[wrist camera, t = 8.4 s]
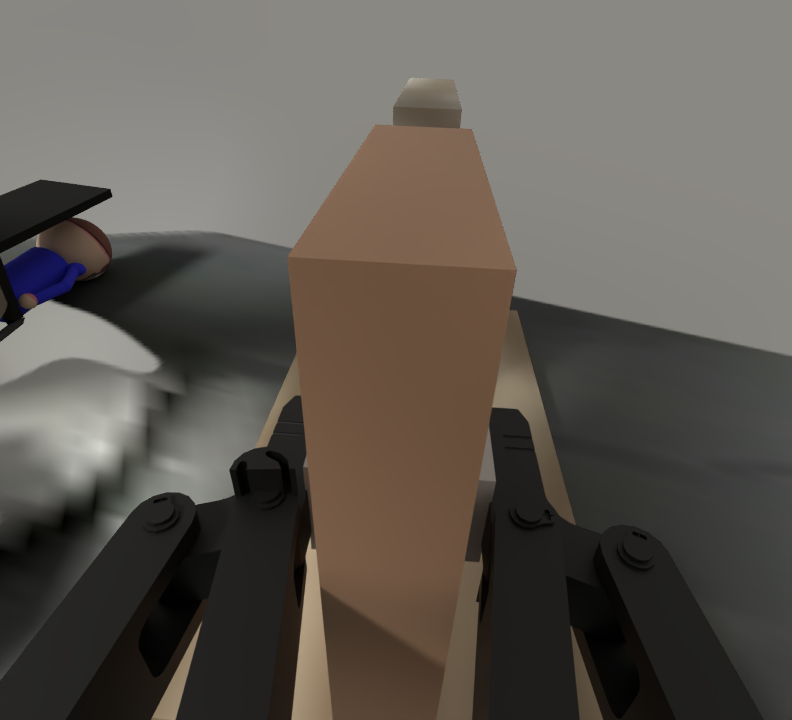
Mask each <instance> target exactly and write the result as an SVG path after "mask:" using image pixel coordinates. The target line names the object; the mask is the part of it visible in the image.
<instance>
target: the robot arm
mask: <svg viewBox="0 0 792 720" xmlns="http://www.w3.org/2000/svg"><path fill="white" fill-rule="evenodd" d="M230 474H231V479H232V483H233V488H234V492H235V495H234V496H231V497H229V498H226V499H223V500H219V501H214V502H209V503H203V504H198V505H195V503H194V502H193V501H192V500H191V498H190V497H189V496H187V495H184V494H181V493H170V492H167V493H163V494H159V495H156V496H153V497H151V498H149V499H147V500H146V501H144V502H142V503H141V504H140V505H139V506H138V507H137V508H136V509H134V510H133V511H132V512H131V514H130V515H129V516H128V518H127V519H126V520H125V521H124V523H123V524H122V525H121V527H120V528H119V529H118V530H117V532H116V533H115V534H114V536H113V537H112V538H111V539H110V541H109V542H108V543H107V545H106V546H105V547H104V548H103V550H102V551H101V552H100V554H99V555H98V556H97V557H96V559H95V560H94V561H93V562H92V564H91V565H90V566H89V568H88V569H87V570H86V571H85V573H84V574H83V575H82V577H81V578H80V579H79V580H78V582H77V583H76V584H75V586H74V587H73V588H72V589H71V591H70V592H69V593H68V595H67V596H66V597H65V598H64V600H63V601H62V602H61V604H60V605H59V606H58V607H57V609H56V610H55V611H54V613H53V614H52V615H51V616H50V618H49V619H48V620H47V622H46V623H45V624H44V625H43V627H42V628H41V629H40V631H39V632H38V633H37V634H36V636H35V637H34V638H33V640H32V641H31V642H30V643H29V645H28V646H27V647H26V648H25V650H24V651H23V652H22V654H21V655H20V656H19V657H18V659H17V660H16V661H15V663H14V664H13V665H12V666H11V668H10V669H9V670H8V672H7V673H6V674H5V675H4V677H3V678H2V679H1V681H0V720H151V719H152V717H153V715H154V713H155V711H156V709H157V707H158V705H159V703H160V701H161V699H162V697H163V695H164V694H165V692H166V690H167V688H168V686H169V684H170V682H171V680H172V678H173V676H174V674H175V672H176V670H177V668H178V666H179V665H180V663H181V661H182V659H183V657H184V655H185V653H186V651H187V649H188V647H189V645H190V643H191V641H192V639H193V637H194V635H195V634H196V632H197V630H198V628H199V626H200V624H201V622H202V624H201V627H200V631H199V635H198V638H197V642H196V646H195V649H194V653H193V657H192V661H191V664H190V668H189V672H188V675H187V679H186V683H185V686H184V690H183V694H182V698H181V701H180V705H179V709H178V712H177V716H176V720H292V710H293V701H294V691H295V681H296V672H297V662H298V652H299V643H300V633H301V623H302V614H303V604H304V594H305V585H306V575H307V564H306V553H307V549H308V545H309V541H310V539H311V549H316V543H315V533H314V523H313V513H312V502H311V492H310V482H309V472H308V462H307V451H306V441H305V431H304V421H303V411H302V400H301V396H299V395H295V396H294V397H293V398H292V399H291V400H290V401H289V402H288V403H287V404H286V405H284V406H283V408H282V411H281V413H280V416H279V418H278V422H277V423H276V425H275V428H274V430H273V435H271V438H270V440H269V443H268V445H267V447H260V448H255V449H252V450H250V451H248V452H245V453H243V454H242V455H241V456H240V457H239V458H237V459H236V460H235V461H234V463H233V465H232V466H231V468H230ZM481 551H482V562H483V571H482V576H481V580H480V585H479V589H478V594H477V599H476V602H479V608H478V625H477V643H476V660H475V678H474V695H473V712H472V720H580V717H579V707H578V697H577V687H576V676H575V666H574V656H573V646H572V636H571V626H572V629H573V632H574V635H575V638H576V641H577V644H578V647H579V650H580V653H581V656H582V658H583V661H584V664H585V667H586V670H587V673H588V676H589V679H590V682H591V685H592V688H593V691H594V694H595V697H596V700H597V703H598V706H599V709H600V712H601V715H602V718H603V720H764V719H763V718H762V716H761V714H760V712H759V711H758V709H757V707H756V705H755V703H754V702H753V700H752V698H751V696H750V695H749V693H748V691H747V689H746V688H745V686H744V684H743V682H742V681H741V679H740V677H739V675H738V674H737V672H736V670H735V668H734V667H733V665H732V663H731V661H730V660H729V658H728V656H727V654H726V653H725V651H724V649H723V647H722V646H721V644H720V642H719V640H718V639H717V637H716V635H715V633H714V632H713V630H712V628H711V626H710V625H709V623H708V621H707V619H706V617H705V616H704V614H703V612H702V610H701V609H700V607H699V605H698V603H697V602H696V600H695V598H694V596H693V595H692V593H691V591H690V589H689V588H688V586H687V584H686V582H685V581H684V579H683V577H682V575H681V574H680V572H679V570H678V568H677V567H676V565H675V563H674V561H673V560H672V558H671V556H670V554H669V553H668V551H667V550H666V549H665V547H664V546H663V545H662V544H661V542H660V541H659V540H657V539H656V538H655V537H653V536H652V535H651V534H649V533H648V532H646V531H643V530H641V529H639V528H636V527H633V526H626V525H618V526H613V527H610V528H609V529H607V530H606V531H605V532H604V533H603V534H602V535H601V534H599V533H596V532H593V531H590V530H587V529H584V528H581V527H579V526H576V525H574V524H572V523H570V522H568V521H566V520H565V519H563V518H562V517H560V516H559V515H558V513H557V511H556V510H555V509H554V507H553V506H552V505H551V504H550V503H549V502H548V500H547V498H546V495H545V491H544V486H543V482H542V478H541V473H540V469H539V465H538V460H537V456H536V452H535V447H534V443H533V440H532V434H531V430H530V426H529V422H528V421H527V420H526V418H525V417H524V416H523V415H522V413H521V412H520V411H519V410H518V409H510V408H496V407H492V410H491V416H490V422H489V427H488V433H487V438H486V444H485V449H484V455H483V461H482V466H481V472H480V477H479V483H478V489H477V494H476V500H475V505H474V511H473V516H472V522H471V528H470V533H469V539H468V544H467V550H466V556H465V561H468V562H479V561H480V556H481Z"/></svg>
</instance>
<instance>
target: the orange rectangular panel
mask: <svg viewBox="0 0 792 720" xmlns="http://www.w3.org/2000/svg"><path fill="white" fill-rule="evenodd" d="M287 258H288V268H289V278H290V288H291V298H292V309H293V319H294V329H295V339H296V349H297V360H298V370H299V380H300V390H301V400H302V411H303V421H304V431H305V441H306V451H307V462H308V472H309V482H310V492H311V502H312V513H313V523H314V533H315V543H316V553H317V564H318V574H319V584H320V594H321V604H322V615H323V625H324V635H325V645H326V655H327V666H328V676H329V686H330V696H331V706H332V717H333V720H436V717H437V712H438V706H439V701H440V695H441V689H442V684H443V678H444V673H445V667H446V662H447V656H448V650H449V645H450V639H451V634H452V628H453V622H454V617H455V611H456V606H457V600H458V595H459V589H460V583H461V578H462V572H463V567H464V561H465V556H466V550H467V544H468V539H469V533H470V528H471V522H472V516H473V511H474V505H475V500H476V494H477V489H478V483H479V477H480V472H481V466H482V461H483V455H484V449H485V444H486V438H487V433H488V427H489V422H490V416H491V410H492V405H493V399H494V394H495V388H496V382H497V377H498V371H499V366H500V360H501V355H502V349H503V343H504V338H505V332H506V327H507V321H508V315H509V310H510V304H511V299H512V293H513V288H514V282H515V276H516V271H517V270H516V267H515V263H514V260H513V257H512V254H511V251H510V248H509V245H508V241H507V238H506V235H505V232H504V229H503V226H502V222H501V220H500V217H499V213H498V210H497V207H496V204H495V200H494V197H493V195H492V191H491V188H490V185H489V182H488V178H487V175H486V172H485V169H484V166H483V163H482V160H481V156H480V153H479V150H478V147H477V144H476V141H475V138H474V134H473V131H472V129H459V128H436V127H414V126H392V125H375V126H374V128H373V129H372V130H371V132H370V134H369V135H368V137H367V138H366V140H365V141H364V143H363V144H362V146H361V147H360V149H359V150H358V152H357V153H356V155H355V156H354V158H353V159H352V161H351V162H350V164H349V165H348V167H347V168H346V170H345V171H344V173H343V174H342V176H341V177H340V179H339V180H338V182H337V183H336V185H335V186H334V188H333V189H332V191H331V192H330V194H329V195H328V197H327V198H326V200H325V201H324V203H323V204H322V206H321V207H320V209H319V210H318V212H317V213H316V215H315V216H314V218H313V219H312V221H311V222H310V224H309V225H308V227H307V228H306V230H305V231H304V233H303V234H302V236H301V237H300V239H299V240H298V242H297V243H296V245H295V246H294V248H293V249H292V251H291V252H290V254H289V255H288V257H287Z"/></svg>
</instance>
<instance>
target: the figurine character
mask: <svg viewBox="0 0 792 720" xmlns="http://www.w3.org/2000/svg"><path fill="white" fill-rule="evenodd" d="M111 197H112V193H111V190H110V189H106V188H98V187H92V186H83V185H77V184H69V183H61V182H55V181H47V180H39V181H36V182H34V183H31V184H29V185H26V186H23V187H21V188H18V189H16V190H13V191H10V192H8V193H6V194H3V195H1V196H0V253H2V252H4V251H6V250H8V249H10V248H12V247H14V246H16V245H18V244H20V243H22V242H24V241H26V240H28V239H30V238H32V237H34V236H36V235H38V234H39V235H38V238H37V242H36V247H33V248H31V249H29V250H28V251H26V252H25V253H23V254H21V255H20V256H18V257H17V258H15V259H14V260H12V261H10V262H9V263H7V264H6V265H3V263H2V260H1V258H0V321H1V322H6V323H7V324H8V325H7V326H6V327H5V328H3V329H2V330H1V331H0V341H2V340H3V339H4V338H6V337H7V336H8V335H10V334H11V333H12V332H13V331H15V329H17V328H18V327H20V326H21V325H22V324H23V322H24V319H25V318H22V317H23V315H24V314H25V313H26V312H28V311H29V310H31V309H32V308H34V307H36V306H37V305H39V304H42V303H44V302H46V301H48V300H50V299H53V298H55V297H57V296H59V295H61V294H64V293H66V292H69V291H70V290H71V288H72V286H73V284H74V282H75V281H87V280H91V279H94V278H96V277H98V276H100V275H101V274H102V273H103V272H104V271H105V270H106V269H107V268H108V266H109V264H110V262H111V258H112V249H111V245H110V242H109V240H108V238H107V236H106V235H105V234H104V233H103V232H102V230H101V229H99V228H98V227H97V226H95V225H94V224H92V223H90V222H88V221H86V220H83V219H79V218H73V216H75V215H77V214H79V213H81V212H83V211H85V210H87V209H89V208H91V207H93V206H95V205H97V204H99V203H101V202H103V201H105V200H107V199H109V198H111Z"/></svg>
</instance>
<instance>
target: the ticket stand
mask: <svg viewBox="0 0 792 720" xmlns="http://www.w3.org/2000/svg"><path fill="white" fill-rule="evenodd" d="M461 112H462V109H461V105H460V101H459V98H458V94H457V90H456V87H455V83H454V80H446V79H422V78H410V79H409V81H408V83H407V84H406V86H405V88H404V90H403V91H402V93H401V95H400V97H399V98H398V100H397V102H396V103H395V105H394V108H393V126H414V127H436V128H459V129H460V121H461ZM295 395H299V396H301V390H300V380H299V370H298V360H297V353H296V356H295V358H294V360H293V362H292V365H291V367H290V369H289V371H288V374H287V376H286V378H285V381H284V383H283V385H282V387H281V390H280V392H279V394H278V396H277V399H276V401H275V403H274V406H273V408H272V410H271V412H270V415H269V417H268V419H267V421H266V424H265V426H264V428H263V431H262V433H261V435H260V437H259V440H258V442H257V444H256V446H255V448H260V447H267V445H268V443H269V440H270V438H271V435H273V430H274V428H275V425H276V423H277V422H278V418H279V416H280V413H281V411H282V408H283V406H284V405H286V404H287V403H288V402H289V401H290V400H291V399H292V398H293V397H294V396H295ZM492 407H496V408H510V409H518V410H519V411H520V412H521V413H522V415H523V416H524V417H525V418H526V420H527V421H528V422H529V426H530V430H531V434H532V440H533V443H534V447H535V452H536V456H537V460H538V465H539V469H540V473H541V478H542V482H543V486H544V491H545V495H546V498H547V500H548V502H549V503H550V504H551V505H552V506H553V507H554V509H555V510H556V511H557V513H558V515H559V516H560V517H562V518H563V519H565V520H566V521H568V522H570V523H572V524H574V525H576V524H575V520H574V516H573V513H572V509H571V505H570V502H569V498H568V494H567V491H566V487H565V483H564V480H563V476H562V472H561V469H560V465H559V462H558V458H557V454H556V451H555V447H554V443H553V440H552V436H551V432H550V429H549V425H548V421H547V418H546V414H545V410H544V407H543V403H542V399H541V396H540V392H539V388H538V385H537V381H536V378H535V374H534V370H533V367H532V363H531V359H530V356H529V352H528V348H527V345H526V341H525V337H524V334H523V330H522V326H521V323H520V319H519V315H518V312H517V311H516V310H509V315H508V321H507V327H506V332H505V338H504V343H503V349H502V355H501V360H500V366H499V371H498V377H497V382H496V388H495V394H494V399H493V405H492ZM234 495H235V494H234ZM306 564H307V575H306V585H305V594H304V604H303V614H302V623H301V633H300V643H299V652H298V662H297V672H296V681H295V691H294V701H293V710H292V720H333V717H332V706H331V696H330V686H329V676H328V666H327V655H326V645H325V635H324V625H323V615H322V604H321V594H320V584H319V574H318V564H317V553H316V549H311V539H310V541H309V545H308V549H307V553H306ZM482 571H483V562H482V551H481V556H480V561H479V562H468V561H464V567H463V572H462V578H461V583H460V589H459V595H458V600H457V606H456V611H455V617H454V622H453V628H452V634H451V639H450V645H449V650H448V656H447V662H446V667H445V673H444V678H443V684H442V689H441V695H440V701H439V706H438V712H437V717H436V720H472V712H473V695H474V678H475V660H476V643H477V625H478V608H479V602H476V599H477V594H478V589H479V585H480V580H481V576H482ZM201 624H202V622H201ZM201 624H200V626H199V628H198V630H197V632H196V634H195V635H194V637H193V639H192V641H191V643H190V645H189V647H188V649H187V651H186V653H185V655H184V657H183V659H182V661H181V663H180V665H179V666H178V668H177V670H176V672H175V674H174V676H173V678H172V680H171V682H170V684H169V686H168V688H167V690H166V692H165V694H164V695H163V697H162V699H161V701H160V703H159V705H158V707H157V709H156V711H155V713H154V715H153V717H152V719H151V720H176V716H177V712H178V709H179V705H180V701H181V698H182V694H183V690H184V686H185V683H186V679H187V675H188V672H189V668H190V664H191V661H192V657H193V653H194V649H195V646H196V642H197V638H198V635H199V631H200V627H201ZM571 636H572V646H573V656H574V666H575V676H576V687H577V697H578V707H579V717H580V720H603V718H602V715H601V712H600V709H599V706H598V703H597V700H596V697H595V694H594V691H593V688H592V685H591V682H590V679H589V676H588V673H587V670H586V667H585V664H584V661H583V658H582V656H581V653H580V650H579V647H578V644H577V641H576V638H575V635H574V632H573V629H572V626H571Z"/></svg>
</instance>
